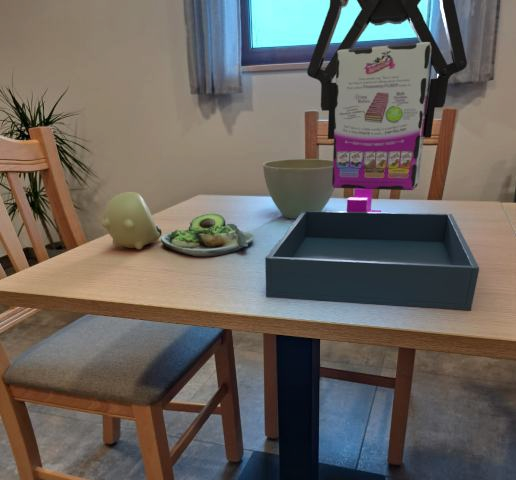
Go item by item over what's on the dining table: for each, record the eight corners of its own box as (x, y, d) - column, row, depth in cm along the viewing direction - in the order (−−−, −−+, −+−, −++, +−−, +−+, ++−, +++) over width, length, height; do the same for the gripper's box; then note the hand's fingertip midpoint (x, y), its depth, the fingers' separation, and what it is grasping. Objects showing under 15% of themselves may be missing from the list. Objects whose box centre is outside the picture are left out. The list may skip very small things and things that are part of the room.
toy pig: (159, 265, 93) (175, 221, 97) (131, 230, 82) (150, 182, 86) (118, 259, 96) (135, 217, 99) (85, 226, 85) (106, 179, 89)
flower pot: (254, 222, 109) (252, 167, 103) (276, 207, 124) (275, 158, 118) (330, 225, 103) (332, 168, 98) (343, 209, 119) (346, 158, 113)
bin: (446, 245, 87) (451, 213, 85) (471, 310, 60) (479, 268, 58) (302, 239, 94) (303, 210, 91) (266, 296, 67) (265, 257, 64)
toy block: (376, 238, 93) (379, 200, 89) (345, 237, 94) (347, 199, 91) (381, 222, 105) (384, 187, 102) (353, 221, 107) (355, 187, 103)
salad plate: (280, 246, 90) (279, 222, 87) (200, 266, 80) (198, 240, 78) (225, 229, 103) (223, 208, 101) (152, 244, 94) (149, 221, 92)
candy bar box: (418, 185, 64) (436, 44, 56) (414, 191, 60) (432, 40, 52) (339, 182, 68) (346, 51, 60) (330, 188, 64) (336, 48, 56)
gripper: (283, -77, 50) (283, 140, 60) (524, -107, 45) (480, 138, 55) (295, -57, 57) (294, 136, 67) (507, -81, 51) (471, 134, 61)
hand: (378, 137), depth 61 cm, fingers closed on candy bar box, 11 cm apart
